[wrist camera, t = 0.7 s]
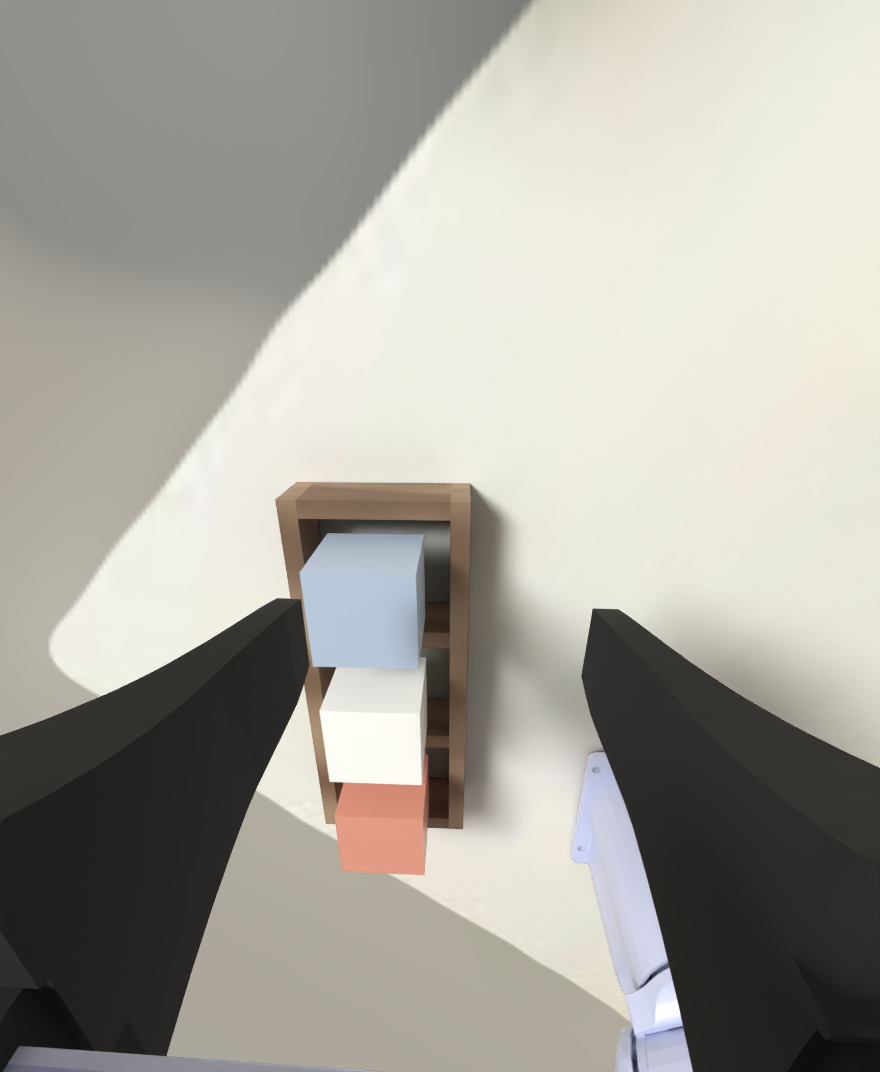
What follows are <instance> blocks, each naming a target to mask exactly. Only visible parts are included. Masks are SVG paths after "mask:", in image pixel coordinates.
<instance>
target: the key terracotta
mask: <svg viewBox="0 0 880 1072" xmlns="http://www.w3.org/2000/svg"><path fill="white" fill-rule="evenodd" d="M428 815H429V774H428V754H425V755H424V767H423V778H422V785H401V784H374V783H347V782H344V783H343V786H342V790H341V794H340V798H339V801H338V805H337V809H336V813H335V823H336V830H337V837H338V843H339V851H340V858H341V864H342V871H346V872H348V871H349V872H368V873H369V872H370V873H390V874H413V875H424V873H425V859H426V844H427V830H428Z"/></svg>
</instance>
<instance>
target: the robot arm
mask: <svg viewBox="0 0 880 1072" xmlns="http://www.w3.org/2000/svg"><path fill="white" fill-rule="evenodd" d="M309 666H310V664H309V656H308V649H307V641H306V633H305V625H304V618H303V610H302V602H301V599H281V598H277V599H275V600H273V601H271V602H269V603H268V604H266V605H264V606H263V607H261V608H259V609H258V610H256V611H255V612H253V613H251V614H250V615H248V616H247V617H245V618H243V619H242V620H240V621H239V622H237V623H236V624H234V625H232V626H231V627H229V628H228V629H226V630H224V631H223V632H221V633H220V634H218V635H216V636H215V637H213V638H212V639H210V640H208V641H207V642H205V643H203V644H201V645H200V646H198V647H196V648H195V649H193V650H191V651H189V652H188V653H186V654H184V655H182V656H181V657H179V658H177V659H176V660H174V661H172V662H170V663H169V664H167V665H165V666H163V667H161V668H159V669H157V670H155V671H153V672H152V673H150V674H148V675H146V676H144V677H142V678H140V679H138V680H135V681H133V682H131V683H129V684H127V685H125V686H123V687H121V688H119V689H117V690H115V691H112V692H110V693H108V694H106V695H103V696H101V697H99V698H96V699H94V700H91V701H89V702H87V703H84V704H82V705H79V706H77V707H75V708H72V709H70V710H67V711H65V712H63V713H60V714H58V715H55V716H53V717H50V718H48V719H45V720H43V721H40V722H37V723H34V724H32V725H29V726H26V727H24V728H21V729H18V730H15V731H12V732H10V733H7V734H4V735H1V736H0V1072H382V1071H367V1070H353V1069H338V1068H325V1067H311V1066H297V1065H283V1064H269V1063H254V1062H240V1061H226V1060H212V1059H197V1058H184V1057H169V1056H167V1052H168V1048H169V1045H170V1041H171V1038H172V1035H173V1032H174V1028H175V1025H176V1022H177V1018H178V1015H179V1011H180V1008H181V1005H182V1002H183V998H184V995H185V991H186V988H187V985H188V981H189V978H190V974H191V972H192V968H193V965H194V962H195V959H196V956H197V953H198V950H199V947H200V944H201V941H202V937H203V934H204V931H205V928H206V925H207V922H208V919H209V916H210V913H211V910H212V906H213V903H214V901H215V898H216V895H217V892H218V889H219V886H220V884H221V881H222V878H223V875H224V872H225V869H226V866H227V863H228V861H229V858H230V855H231V852H232V849H233V847H234V844H235V841H236V838H237V836H238V833H239V831H240V828H241V825H242V822H243V820H244V817H245V814H246V812H247V809H248V807H249V804H250V802H251V799H252V797H253V795H254V793H255V790H256V788H257V786H258V784H259V782H260V780H261V778H262V776H263V774H264V772H265V770H266V767H267V765H268V763H269V761H270V759H271V757H272V755H273V753H274V751H275V749H276V747H277V745H278V743H279V741H280V739H281V737H282V734H283V732H284V730H285V728H286V726H287V724H288V722H289V720H290V718H291V716H292V714H293V711H294V709H295V707H296V705H297V703H298V700H299V697H300V694H301V691H302V688H303V685H304V682H305V679H306V676H307V673H308V669H309ZM582 680H583V685H584V689H585V694H586V698H587V702H588V706H589V710H590V714H591V717H592V719H593V722H594V725H595V728H596V730H597V733H598V736H599V738H600V741H601V743H602V746H603V749H604V751H605V752H593V753H591V754H590V755H589V756H588V758H587V763H586V769H585V774H584V780H583V786H582V791H581V797H580V803H579V809H578V814H577V820H576V826H575V832H574V837H573V843H572V849H571V857H572V860H573V861H574V862H576V863H583V864H588V865H589V869H590V873H591V877H592V881H593V886H594V890H595V894H596V898H597V902H598V906H599V910H600V914H601V918H602V922H603V926H604V930H605V934H606V938H607V942H608V946H609V951H610V955H611V959H612V963H613V967H614V970H615V973H616V976H617V979H618V982H619V984H620V986H621V989H622V991H623V993H624V994H625V999H626V1003H627V1007H628V1011H629V1015H630V1019H631V1023H632V1026H628V1027H624V1028H623V1029H622V1030H621V1032H620V1035H619V1039H618V1048H617V1052H616V1056H615V1061H614V1072H880V768H879V767H876V766H874V765H872V764H870V763H868V762H866V761H863V760H861V759H859V758H857V757H855V756H853V755H850V754H848V753H846V752H844V751H842V750H840V749H838V748H836V747H834V746H832V745H830V744H828V743H826V742H824V741H822V740H820V739H818V738H816V737H814V736H812V735H810V734H808V733H806V732H804V731H802V730H800V729H799V728H797V727H795V726H793V725H791V724H789V723H787V722H785V721H784V720H782V719H780V718H778V717H777V716H775V715H773V714H771V713H770V712H768V711H766V710H764V709H763V708H761V707H759V706H757V705H756V704H754V703H752V702H751V701H749V700H747V699H745V698H744V697H742V696H741V695H739V694H737V693H736V692H734V691H733V690H731V689H729V688H728V687H726V686H725V685H723V684H722V683H720V682H719V681H717V680H716V679H714V678H713V677H711V676H710V675H708V674H707V673H705V672H704V671H702V670H701V669H699V668H698V667H697V666H695V665H694V664H692V663H691V662H689V661H688V660H687V659H685V658H684V657H682V656H681V655H680V654H678V653H677V652H676V651H674V650H673V649H672V648H670V647H669V646H668V645H666V644H665V643H664V642H662V641H661V640H660V639H658V638H657V637H656V636H654V635H653V634H652V633H650V632H649V631H648V630H646V629H645V628H644V627H642V626H641V625H640V624H638V623H637V622H636V621H634V620H633V619H632V618H630V617H629V616H627V615H626V614H625V613H623V612H621V611H620V610H618V609H593V611H592V617H591V623H590V629H589V635H588V640H587V646H586V652H585V658H584V664H583V670H582Z"/></svg>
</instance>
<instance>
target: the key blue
mask: <svg viewBox="0 0 880 1072" xmlns="http://www.w3.org/2000/svg"><path fill="white" fill-rule="evenodd" d="M300 580H301V587H302V593H303V600H304V607H305V614H306V621H307V628H308V635H309V642H310V649H311V656H312V663H313V667H352V668H390V669H419V662H420V654H421V647H422V639H423V631H424V624H425V571H424V534H356V533H327V535H326V536H325V538H324V539H323V540H322V542H321V543H320V545H319V546H318V547H317V549H316V550H315V552H314V553H313V554H312V556H311V557H310V559H309V560H308V561H307V563H306V564H305V566H304V567H303V568H302V570H301V571H300Z"/></svg>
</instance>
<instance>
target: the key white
mask: <svg viewBox="0 0 880 1072" xmlns="http://www.w3.org/2000/svg"><path fill="white" fill-rule="evenodd" d="M319 712H320V719H321V726H322V732H323V739H324V746H325V753H326V760H327V767H328V774H329V781H330V782H347V783H374V784H401V785H422V778H423V767H424V755H425V744H426V733H427V673H426V657H420V662H419V669H390V668H352V667H336V670H335V672H334V675H333V677H332V680H331V683H330V685H329V688H328V690H327V693H326V695H325V698H324V701H323V703H322V706H321V708H320V711H319Z"/></svg>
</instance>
